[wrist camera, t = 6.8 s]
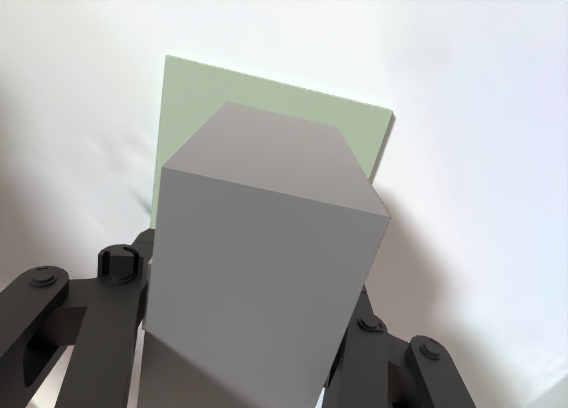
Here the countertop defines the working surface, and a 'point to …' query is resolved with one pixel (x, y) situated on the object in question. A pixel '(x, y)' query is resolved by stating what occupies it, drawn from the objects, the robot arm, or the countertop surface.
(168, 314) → the block
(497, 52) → the countertop surface
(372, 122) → the board
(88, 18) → the countertop surface
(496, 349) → the countertop surface
